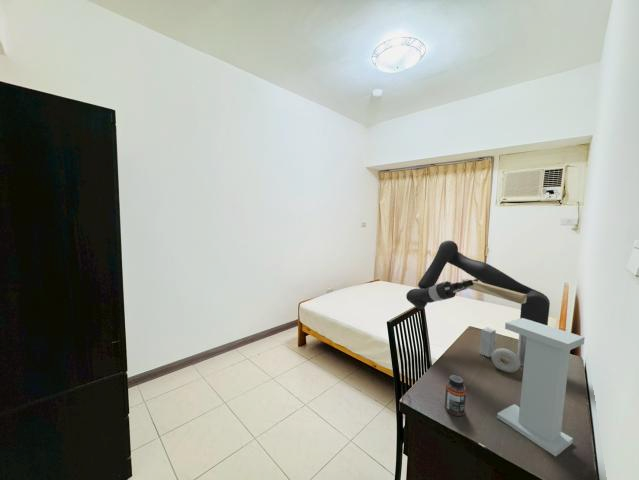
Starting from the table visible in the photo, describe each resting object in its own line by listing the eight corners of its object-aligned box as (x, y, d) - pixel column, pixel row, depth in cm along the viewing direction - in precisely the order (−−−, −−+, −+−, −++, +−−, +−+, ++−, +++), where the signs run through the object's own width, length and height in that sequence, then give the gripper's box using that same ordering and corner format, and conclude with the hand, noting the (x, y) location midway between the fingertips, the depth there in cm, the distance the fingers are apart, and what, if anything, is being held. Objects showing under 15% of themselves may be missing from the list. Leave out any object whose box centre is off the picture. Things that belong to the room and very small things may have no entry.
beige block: (466, 285, 108) (466, 278, 108) (525, 302, 88) (527, 294, 88) (461, 286, 107) (462, 279, 106) (521, 303, 87) (522, 295, 87)
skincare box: (488, 357, 119) (491, 333, 118) (478, 353, 123) (480, 329, 122) (494, 354, 123) (496, 330, 122) (484, 350, 126) (486, 326, 126)
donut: (489, 368, 111) (491, 346, 110) (490, 365, 113) (492, 343, 112) (518, 377, 104) (521, 354, 103) (519, 374, 107) (521, 351, 106)
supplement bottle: (448, 401, 89) (450, 370, 88) (466, 410, 85) (469, 378, 84) (441, 409, 85) (444, 378, 84) (461, 420, 81) (463, 386, 80)
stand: (513, 408, 87) (522, 317, 84) (572, 443, 74) (584, 337, 71) (497, 417, 82) (505, 322, 80) (555, 456, 69) (568, 344, 66)
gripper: (428, 285, 116) (460, 274, 101) (449, 282, 122) (482, 271, 107) (433, 301, 113) (467, 292, 99) (454, 297, 119) (489, 289, 105)
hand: (474, 281), depth 103 cm, fingers closed on beige block, 3 cm apart
